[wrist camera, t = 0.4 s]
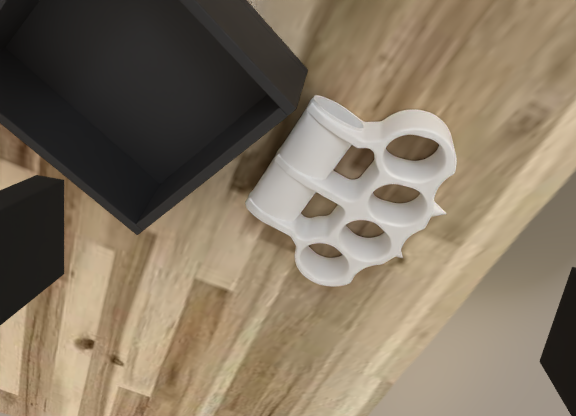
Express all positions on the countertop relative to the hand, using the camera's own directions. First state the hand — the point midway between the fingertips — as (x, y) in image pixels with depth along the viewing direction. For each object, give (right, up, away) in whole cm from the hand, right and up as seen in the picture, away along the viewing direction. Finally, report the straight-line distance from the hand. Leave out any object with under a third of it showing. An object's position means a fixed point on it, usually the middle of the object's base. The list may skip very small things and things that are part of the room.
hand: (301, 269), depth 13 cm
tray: (-11, +13, +27) cm, 32 cm away
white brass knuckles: (+5, +4, +31) cm, 32 cm away
